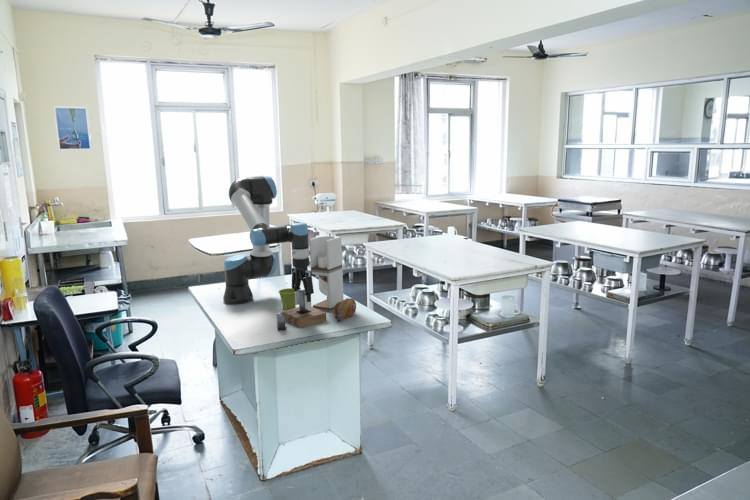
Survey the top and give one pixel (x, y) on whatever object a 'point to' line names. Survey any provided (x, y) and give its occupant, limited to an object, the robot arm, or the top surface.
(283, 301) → the plant pot
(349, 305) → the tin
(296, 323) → the hole block
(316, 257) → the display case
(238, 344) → the top surface
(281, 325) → the short pin
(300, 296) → the tall pin
